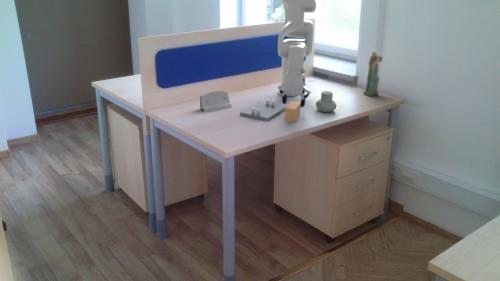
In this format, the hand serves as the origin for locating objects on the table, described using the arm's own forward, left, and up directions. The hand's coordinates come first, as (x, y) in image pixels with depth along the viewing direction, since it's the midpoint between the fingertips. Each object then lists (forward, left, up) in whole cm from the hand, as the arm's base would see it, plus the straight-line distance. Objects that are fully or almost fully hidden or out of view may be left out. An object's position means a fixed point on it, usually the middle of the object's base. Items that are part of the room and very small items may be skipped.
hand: (293, 105), depth 239 cm
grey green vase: (-21, +10, -7) cm, 24 cm away
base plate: (0, -17, -7) cm, 18 cm away
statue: (-64, +22, -7) cm, 67 cm away
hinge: (+7, -42, -7) cm, 43 cm away
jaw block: (-1, 0, -7) cm, 7 cm away
